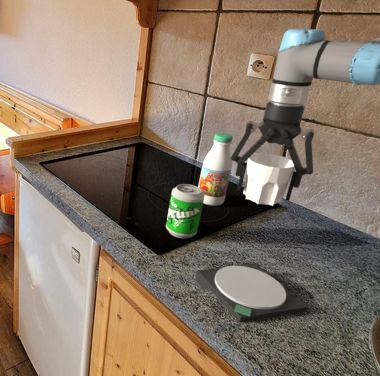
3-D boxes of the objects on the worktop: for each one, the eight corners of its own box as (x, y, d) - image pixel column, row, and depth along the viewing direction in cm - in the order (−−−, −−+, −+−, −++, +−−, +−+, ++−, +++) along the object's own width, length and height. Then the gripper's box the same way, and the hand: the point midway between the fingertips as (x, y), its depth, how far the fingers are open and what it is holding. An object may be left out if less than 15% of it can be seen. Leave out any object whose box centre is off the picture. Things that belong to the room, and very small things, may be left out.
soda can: (171, 221, 107) (178, 180, 101) (200, 230, 103) (209, 188, 98) (160, 233, 101) (168, 190, 96) (191, 243, 97) (200, 199, 92)
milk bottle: (191, 194, 122) (204, 130, 113) (215, 194, 123) (230, 130, 114) (203, 206, 115) (217, 139, 106) (228, 205, 116) (245, 139, 107)
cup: (255, 186, 106) (264, 150, 102) (293, 201, 98) (304, 163, 94) (231, 194, 102) (239, 157, 97) (268, 210, 94) (278, 171, 90)
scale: (304, 317, 75) (309, 304, 74) (237, 328, 72) (241, 315, 71) (253, 271, 87) (256, 260, 86) (194, 279, 84) (196, 267, 83)
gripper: (229, 99, 93) (211, 188, 102) (347, 113, 82) (316, 210, 91) (234, 94, 99) (217, 178, 108) (346, 106, 88) (316, 198, 97)
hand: (262, 193), depth 99 cm, fingers closed on cup, 10 cm apart
